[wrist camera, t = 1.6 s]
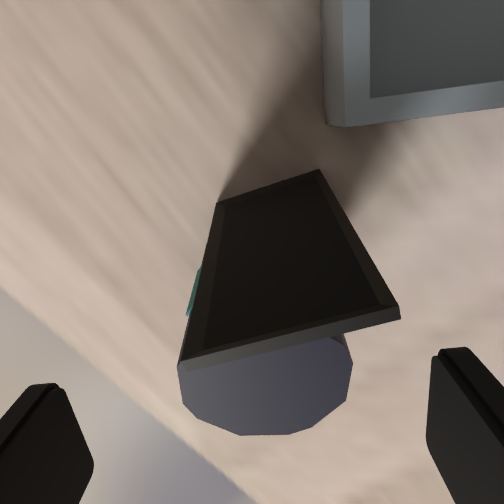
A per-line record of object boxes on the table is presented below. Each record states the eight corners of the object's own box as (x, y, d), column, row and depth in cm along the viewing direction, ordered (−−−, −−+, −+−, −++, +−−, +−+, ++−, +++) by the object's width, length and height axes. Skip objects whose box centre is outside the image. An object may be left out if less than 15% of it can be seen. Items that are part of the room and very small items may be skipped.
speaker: (201, 165, 17) (140, 284, 7) (322, 168, 17) (410, 290, 7) (206, 297, 20) (169, 488, 11) (306, 299, 20) (353, 491, 11)
